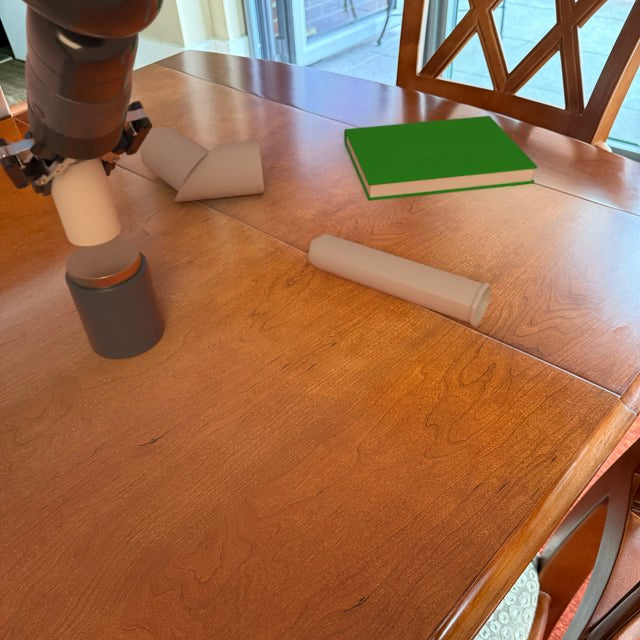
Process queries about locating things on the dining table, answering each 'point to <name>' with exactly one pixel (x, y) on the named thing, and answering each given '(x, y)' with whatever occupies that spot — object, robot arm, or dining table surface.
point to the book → (436, 157)
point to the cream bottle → (85, 203)
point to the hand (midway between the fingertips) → (72, 177)
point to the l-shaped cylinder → (203, 166)
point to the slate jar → (115, 298)
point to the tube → (401, 278)
